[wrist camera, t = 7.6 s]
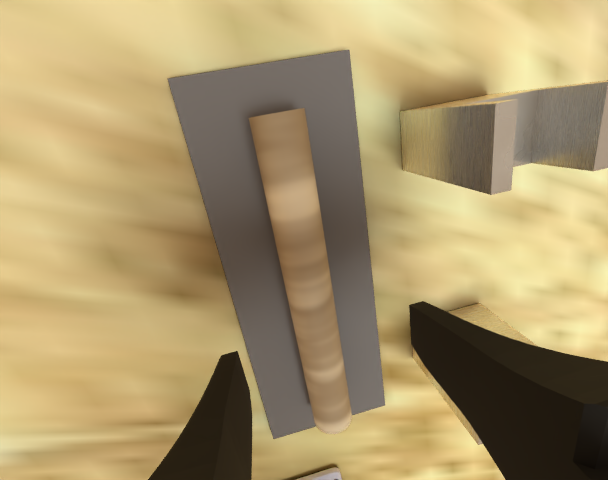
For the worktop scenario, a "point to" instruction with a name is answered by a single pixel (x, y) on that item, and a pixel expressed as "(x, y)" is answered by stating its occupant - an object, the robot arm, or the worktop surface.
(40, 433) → the worktop surface
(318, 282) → the rail
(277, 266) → the mat
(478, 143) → the hook stands
